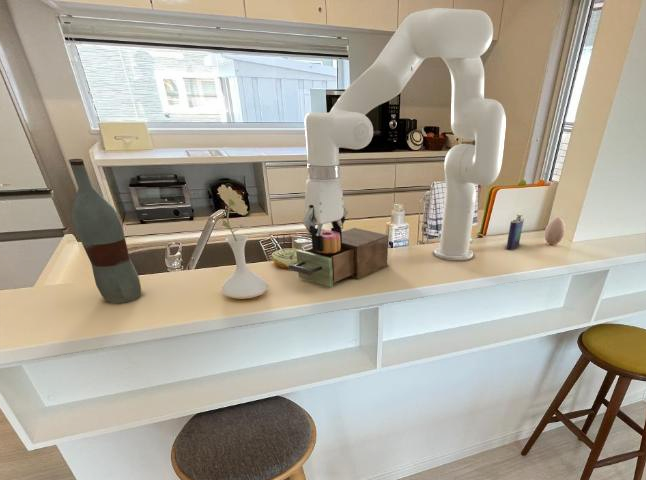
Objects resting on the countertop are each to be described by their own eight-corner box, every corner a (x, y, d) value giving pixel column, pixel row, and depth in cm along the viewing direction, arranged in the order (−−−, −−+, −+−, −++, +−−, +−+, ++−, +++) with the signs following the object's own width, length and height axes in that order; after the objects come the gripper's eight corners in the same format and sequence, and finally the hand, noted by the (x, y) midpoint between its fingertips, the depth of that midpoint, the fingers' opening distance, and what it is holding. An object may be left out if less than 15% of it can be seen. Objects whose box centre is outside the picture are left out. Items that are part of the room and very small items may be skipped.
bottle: (107, 291, 105) (57, 156, 88) (147, 288, 107) (106, 156, 90) (97, 306, 98) (41, 162, 81) (140, 302, 100) (94, 162, 83)
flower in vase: (275, 297, 105) (261, 189, 90) (229, 306, 99) (207, 193, 85) (258, 281, 114) (243, 180, 100) (215, 288, 108) (193, 183, 94)
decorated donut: (291, 272, 119) (289, 259, 117) (265, 265, 124) (263, 252, 122) (316, 263, 127) (315, 251, 124) (290, 256, 131) (289, 244, 129)
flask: (513, 242, 150) (519, 211, 144) (521, 244, 149) (527, 212, 143) (504, 249, 144) (510, 216, 138) (512, 250, 143) (519, 217, 136)
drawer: (316, 293, 105) (314, 264, 101) (284, 282, 111) (281, 255, 106) (361, 273, 118) (361, 247, 114) (331, 264, 123) (330, 239, 119)
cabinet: (357, 279, 117) (357, 246, 111) (323, 269, 122) (321, 237, 117) (387, 265, 126) (388, 235, 121) (354, 257, 132) (354, 227, 127)
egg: (542, 241, 153) (548, 214, 148) (561, 243, 152) (568, 216, 147) (541, 245, 148) (548, 218, 143) (561, 248, 147) (568, 220, 141)
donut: (327, 244, 116) (326, 228, 113) (345, 248, 112) (345, 233, 110) (309, 249, 111) (308, 234, 108) (328, 255, 108) (327, 238, 105)
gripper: (335, 167, 109) (337, 237, 119) (286, 175, 97) (293, 251, 107) (358, 171, 105) (358, 242, 115) (310, 178, 93) (315, 257, 104)
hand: (327, 246), depth 111 cm, fingers closed on donut, 6 cm apart
